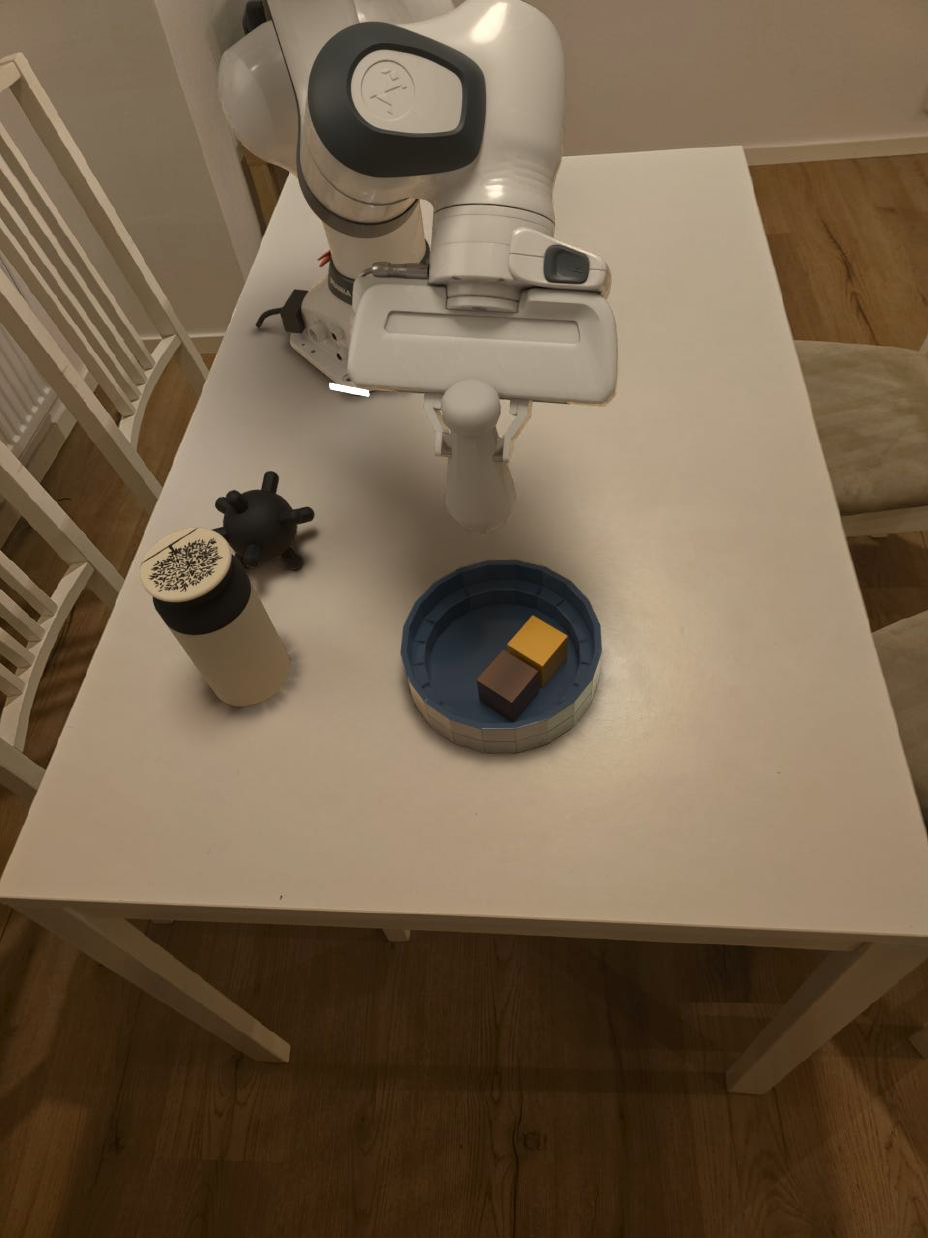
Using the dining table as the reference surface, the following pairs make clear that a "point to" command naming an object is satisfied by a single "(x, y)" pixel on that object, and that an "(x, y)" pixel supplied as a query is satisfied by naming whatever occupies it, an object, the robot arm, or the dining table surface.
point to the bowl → (475, 635)
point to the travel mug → (216, 615)
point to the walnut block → (508, 685)
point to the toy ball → (261, 524)
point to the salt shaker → (475, 458)
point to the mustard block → (540, 648)
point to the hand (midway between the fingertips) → (473, 459)
